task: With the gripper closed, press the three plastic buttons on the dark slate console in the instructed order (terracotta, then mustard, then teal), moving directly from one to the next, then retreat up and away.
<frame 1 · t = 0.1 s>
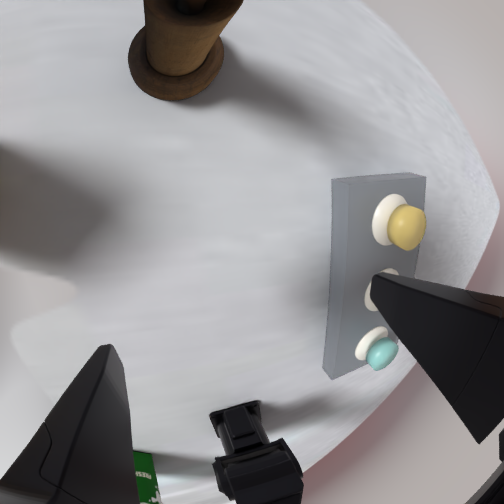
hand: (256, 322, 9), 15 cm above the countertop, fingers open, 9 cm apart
milk carton: (124, 457, 31), on the countertop
mustard button: (407, 227, 23), point 5 cm above the countertop, slide at 0.0 cm
button console: (368, 279, 30), on the countertop
brown stepped post: (174, 61, 17), on the countertop
teal button: (382, 354, 30), point 5 cm above the countertop, slide at 0.0 cm
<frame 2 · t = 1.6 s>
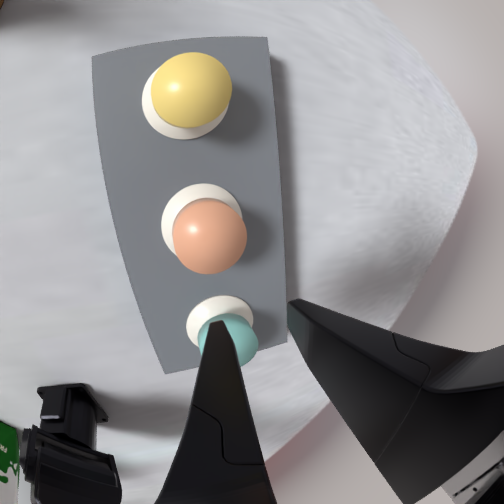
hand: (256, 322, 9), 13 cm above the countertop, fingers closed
terracotta button: (208, 235, 16), point 5 cm above the countertop, slide at 0.0 cm
mustard button: (190, 91, 12), point 5 cm above the countertop, slide at 0.0 cm
button console: (196, 214, 20), on the countertop
teal button: (227, 342, 19), point 5 cm above the countertop, slide at 0.0 cm
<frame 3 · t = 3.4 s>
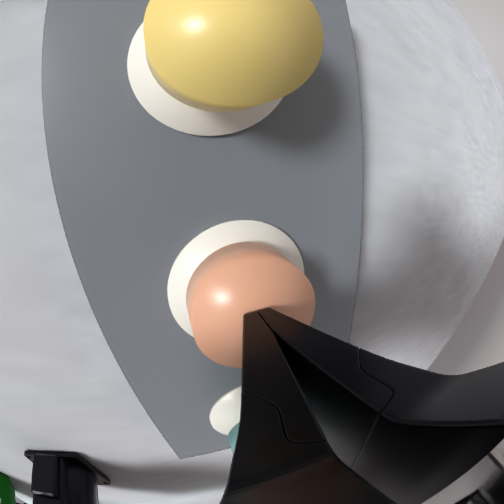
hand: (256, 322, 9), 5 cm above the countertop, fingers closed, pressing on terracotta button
terracotta button: (249, 307, 9), point 4 cm above the countertop, slide at 1.0 cm, touching gripper
mustard button: (230, 33, 5), point 5 cm above the countertop, slide at 0.0 cm
button console: (222, 260, 13), on the countertop
teal button: (270, 441, 12), point 5 cm above the countertop, slide at 0.0 cm
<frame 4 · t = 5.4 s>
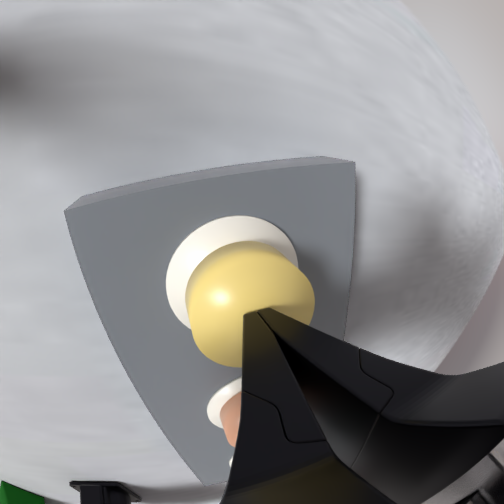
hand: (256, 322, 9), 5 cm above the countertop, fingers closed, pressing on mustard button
milk carton: (24, 493, 17), on the countertop
terracotta button: (260, 419, 13), point 4 cm above the countertop, slide at 1.1 cm
mustard button: (248, 306, 9), point 4 cm above the countertop, slide at 0.5 cm, touching gripper
button console: (239, 373, 16), on the countertop
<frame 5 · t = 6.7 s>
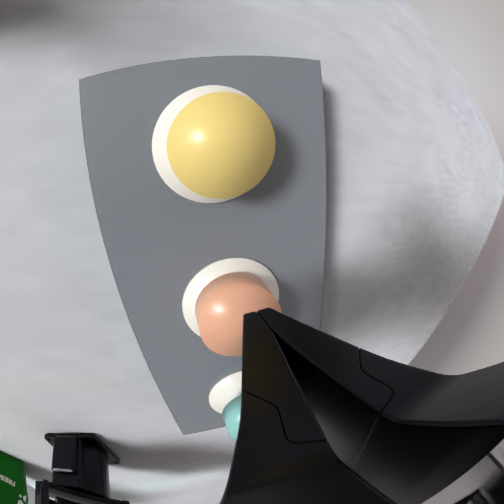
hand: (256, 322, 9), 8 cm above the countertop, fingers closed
milk carton: (3, 458, 18), on the countertop
terracotta button: (237, 315, 14), point 4 cm above the countertop, slide at 1.1 cm
mustard button: (218, 144, 10), point 4 cm above the countertop, slide at 1.0 cm
button console: (221, 280, 17), on the countertop
teal button: (255, 417, 16), point 5 cm above the countertop, slide at 0.0 cm
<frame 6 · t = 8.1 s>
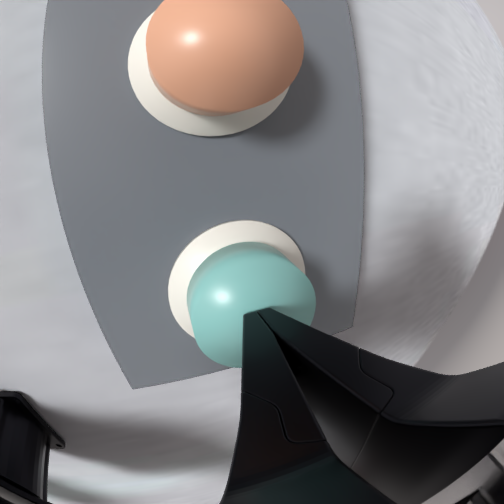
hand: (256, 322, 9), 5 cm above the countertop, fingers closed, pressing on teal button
terracotta button: (222, 46, 6), point 4 cm above the countertop, slide at 1.1 cm
button console: (201, 75, 9), on the countertop
teal button: (250, 307, 9), point 4 cm above the countertop, slide at 1.0 cm, touching gripper
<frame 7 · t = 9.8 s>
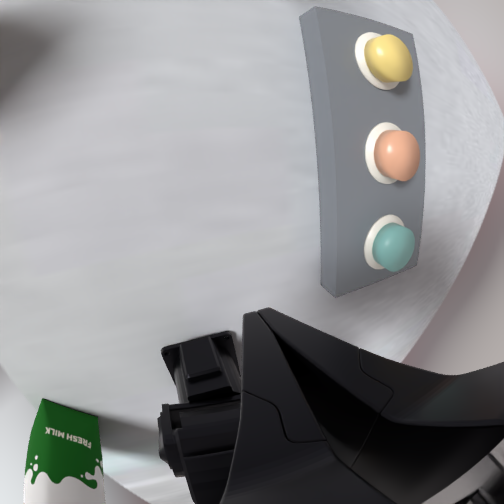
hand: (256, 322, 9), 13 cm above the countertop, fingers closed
milk carton: (68, 421, 23), on the countertop
terracotta button: (397, 154, 19), point 4 cm above the countertop, slide at 1.1 cm
mustard button: (389, 58, 16), point 4 cm above the countertop, slide at 1.0 cm
button console: (368, 150, 22), on the countertop
teal button: (394, 247, 22), point 4 cm above the countertop, slide at 1.1 cm
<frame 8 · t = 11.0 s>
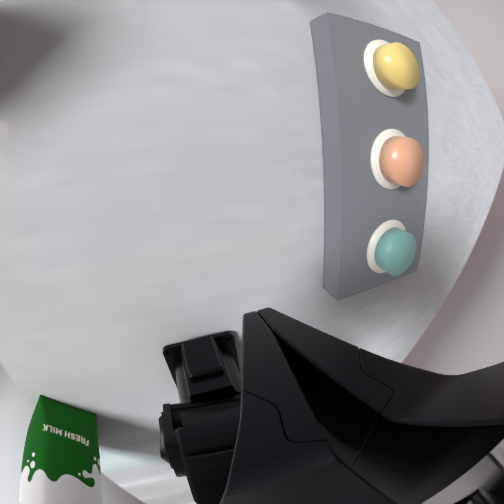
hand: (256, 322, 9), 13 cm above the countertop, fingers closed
milk carton: (65, 418, 23), on the countertop
terracotta button: (402, 161, 19), point 4 cm above the countertop, slide at 1.1 cm
mustard button: (397, 66, 16), point 4 cm above the countertop, slide at 1.0 cm
button console: (372, 155, 23), on the countertop
teal button: (396, 251, 23), point 4 cm above the countertop, slide at 1.1 cm
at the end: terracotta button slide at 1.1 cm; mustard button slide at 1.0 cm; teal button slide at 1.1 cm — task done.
